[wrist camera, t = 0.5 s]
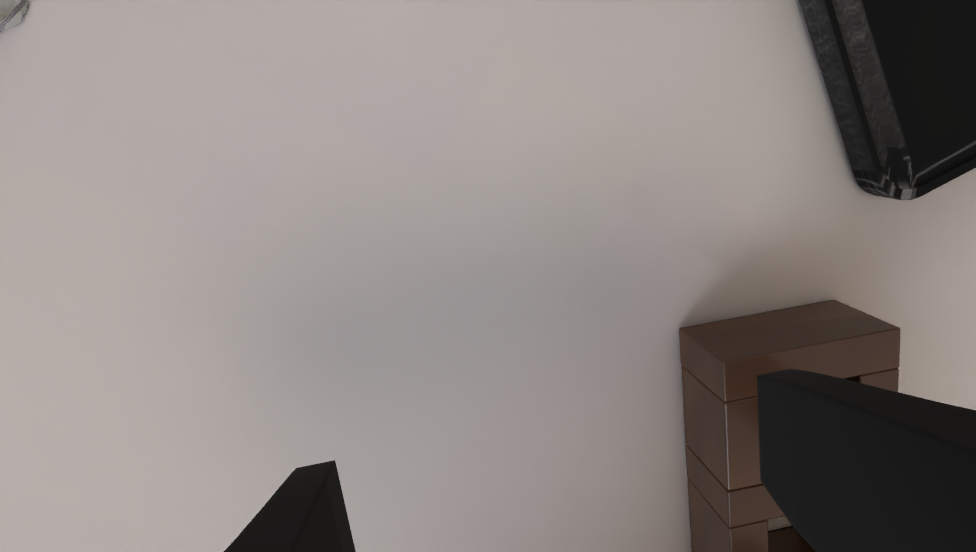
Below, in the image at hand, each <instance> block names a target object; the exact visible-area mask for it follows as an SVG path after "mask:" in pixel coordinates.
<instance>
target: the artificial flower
mask: <svg viewBox="0 0 976 552" xmlns="http://www.w3.org/2000/svg"><path fill="white" fill-rule="evenodd" d="M21 1H22V0H0V23H2V22H4V21H6V19H7V18H8V17H9V15H10V14H11V13H12V11H13V10H14V9H15V8H16V7H17V6H18V5H19V4H20V2H21ZM27 5H28V1H27V3H26V4H25V5H24V6H23V7H22V8H21V9H20V10H19V11H18V12H17V13H16V14H15V15H14V16H13V17H12V18H11V19H10V20H9V21H8V22H7V23H6V24H5V29H7V28H9V27H11V26H13V25H15V24H18V23H20V21H21V17H22V15H23V14H25V13H26V11H27ZM0 32H1V31H0Z"/></svg>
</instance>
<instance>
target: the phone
mask: <svg viewBox="0 0 976 552" xmlns="http://www.w3.org/2000/svg"><path fill="white" fill-rule="evenodd" d="M799 1H800V4H801V7H802V10H803V14H804V17H805V20H806V23H807V26H808V30H809V33H810V36H811V39H812V42H813V46H814V49H815V52H816V55H817V58H818V62H819V65H820V68H821V71H822V75H823V78H824V81H825V84H826V87H827V91H828V94H829V97H830V100H831V103H832V107H833V110H834V113H835V116H836V119H837V123H838V126H839V129H840V132H841V136H842V139H843V142H844V145H845V148H846V152H847V155H848V158H849V161H850V164H851V168H852V171H853V174H854V177H855V179H856V181H857V183H858V185H859V186H860V187H861V188H862V189H863V190H865V191H866V192H868V193H870V194H873V195H877V196H882V197H887V198H893V199H898V200H912V199H915V198H917V197H920V196H923V195H924V194H926V193H928V192H930V191H932V190H934V189H936V188H938V187H940V186H942V185H943V184H945V183H947V182H949V181H951V180H953V179H955V178H957V177H959V176H960V175H962V174H964V173H966V172H968V171H970V170H972V169H974V168H976V0H799Z"/></svg>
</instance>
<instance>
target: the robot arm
mask: <svg viewBox="0 0 976 552" xmlns="http://www.w3.org/2000/svg"><path fill="white" fill-rule="evenodd" d="M757 395H758V424H759V453H760V481H761V482H762V483H763V485H764V486H765V488H766V489H767V491H768V492H769V494H770V495H771V497H772V498H773V499H774V501H775V502H776V504H777V505H778V507H779V508H780V509H781V511H782V512H783V513H784V515H785V516H786V517H787V519H788V520H789V522H790V523H791V524H792V526H793V527H794V528H795V529H796V530H797V532H798V533H799V534H800V535H801V536H802V537H803V538H804V539H805V540H806V542H807V543H808V544H809V545H810V546H811V547H812V548H813V549H814V550H815V551H816V552H976V410H971V409H967V408H962V407H957V406H953V405H948V404H944V403H940V402H935V401H931V400H927V399H923V398H919V397H914V396H910V395H906V394H902V393H898V392H894V391H890V390H886V389H882V388H878V387H874V386H870V385H866V384H862V383H858V382H854V381H850V380H846V379H842V378H838V377H834V376H829V375H825V374H820V373H815V372H810V371H804V370H796V369H787V370H782V371H777V372H772V373H767V374H762V375H757ZM224 552H355V547H354V543H353V539H352V534H351V530H350V525H349V521H348V516H347V512H346V507H345V503H344V499H343V494H342V490H341V485H340V481H339V476H338V472H337V467H336V463H335V460H334V461H329V462H325V463H320V464H315V465H310V466H305V467H300V468H296V469H295V470H294V471H293V472H292V473H291V475H290V476H289V477H288V478H287V479H286V480H285V482H284V483H283V484H282V485H281V486H280V487H279V489H278V490H277V491H276V492H275V494H274V495H273V496H272V497H271V498H270V500H269V501H268V502H267V503H266V504H265V506H264V507H263V508H262V509H261V510H260V511H259V513H258V514H257V515H256V516H255V517H254V518H253V520H252V521H251V522H250V523H249V524H248V525H247V526H246V528H245V529H244V530H243V531H242V532H241V533H240V535H239V536H238V537H237V538H236V539H235V540H234V541H233V543H232V544H231V545H230V546H229V547H228V548H227V549H226V550H225V551H224Z"/></svg>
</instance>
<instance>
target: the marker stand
mask: <svg viewBox="0 0 976 552" xmlns="http://www.w3.org/2000/svg"><path fill="white" fill-rule="evenodd" d="M679 335H680V352H681V364H682V380H683V398H684V415H685V433H686V444H687V445H686V455H687V473H688V477H689V478H688V488H689V506H690V523H691V540H692V552H816V551H815V550H814V549H813V548H812V547H811V546H810V545H809V544H808V543H807V542H806V540H805V539H804V538H803V537H802V536H801V535H800V534H799V533H798V532H797V530H796V529H795V528H794V527H790V528H786V529H781V530H777V531H772V532H768V521H767V520H768V519H773V518H777V517H782V516H785V515H784V513H783V512H782V511H781V509H780V508H779V507H778V505H777V504H776V502H775V501H774V499H773V498H772V497H771V495H770V494H769V492H768V491H767V489H766V488H765V486H764V485H763V483H762V482H761V481H760V453H759V424H758V395H757V375H762V374H767V373H772V372H777V371H782V370H787V369H796V370H804V371H810V372H815V373H820V374H825V375H829V376H834V377H838V378H842V379H846V380H850V381H854V382H858V383H862V384H866V385H870V386H874V387H878V388H882V389H886V390H890V391H894V392H898V374H899V370H898V367H899V353H900V328H899V327H896V326H894V325H892V324H889V323H887V322H885V321H882V320H880V319H878V318H876V317H873V316H871V315H869V314H866V313H864V312H862V311H859V310H857V309H855V308H852V307H850V306H848V305H846V304H843V303H841V302H839V301H836V300H832V301H827V302H821V303H816V304H811V305H805V306H800V307H794V308H789V309H783V310H778V311H772V312H767V313H761V314H756V315H751V316H745V317H740V318H734V319H729V320H723V321H718V322H712V323H707V324H701V325H696V326H691V327H685V328H680V329H679Z"/></svg>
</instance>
